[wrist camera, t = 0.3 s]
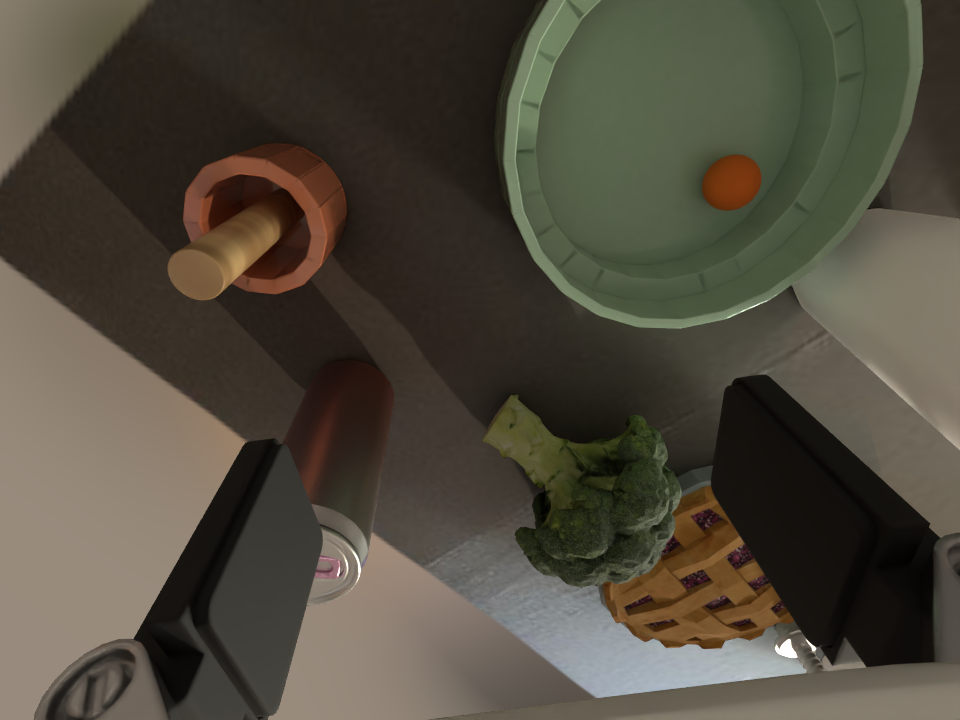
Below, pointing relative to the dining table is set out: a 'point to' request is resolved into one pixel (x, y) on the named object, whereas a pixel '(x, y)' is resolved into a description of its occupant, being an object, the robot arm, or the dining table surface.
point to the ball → (731, 182)
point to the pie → (698, 580)
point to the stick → (232, 246)
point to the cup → (897, 307)
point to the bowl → (698, 143)
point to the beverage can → (342, 466)
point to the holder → (249, 181)
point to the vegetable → (591, 498)
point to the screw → (797, 647)
